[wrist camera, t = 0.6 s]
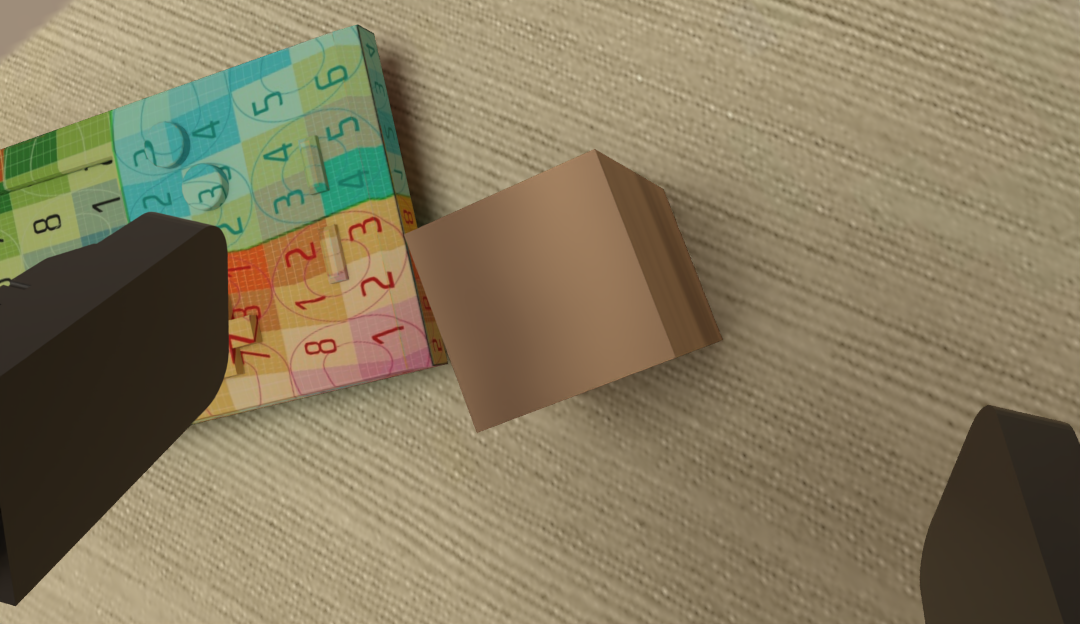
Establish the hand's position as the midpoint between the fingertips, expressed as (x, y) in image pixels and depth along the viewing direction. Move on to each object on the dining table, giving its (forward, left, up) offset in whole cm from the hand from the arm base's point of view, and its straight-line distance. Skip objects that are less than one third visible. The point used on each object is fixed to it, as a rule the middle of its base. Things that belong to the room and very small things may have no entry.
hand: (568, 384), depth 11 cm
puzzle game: (+19, -10, -25) cm, 32 cm away
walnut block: (+4, -3, -24) cm, 25 cm away
